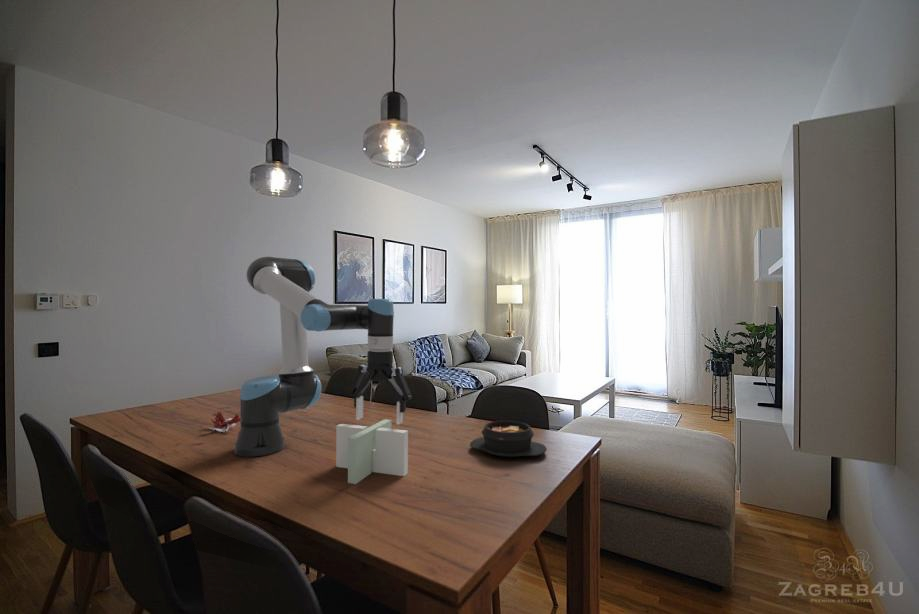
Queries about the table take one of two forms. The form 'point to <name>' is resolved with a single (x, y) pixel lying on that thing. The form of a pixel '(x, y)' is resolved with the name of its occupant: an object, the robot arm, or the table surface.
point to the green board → (362, 451)
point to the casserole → (508, 440)
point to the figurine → (224, 422)
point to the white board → (377, 449)
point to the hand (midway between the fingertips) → (379, 421)
